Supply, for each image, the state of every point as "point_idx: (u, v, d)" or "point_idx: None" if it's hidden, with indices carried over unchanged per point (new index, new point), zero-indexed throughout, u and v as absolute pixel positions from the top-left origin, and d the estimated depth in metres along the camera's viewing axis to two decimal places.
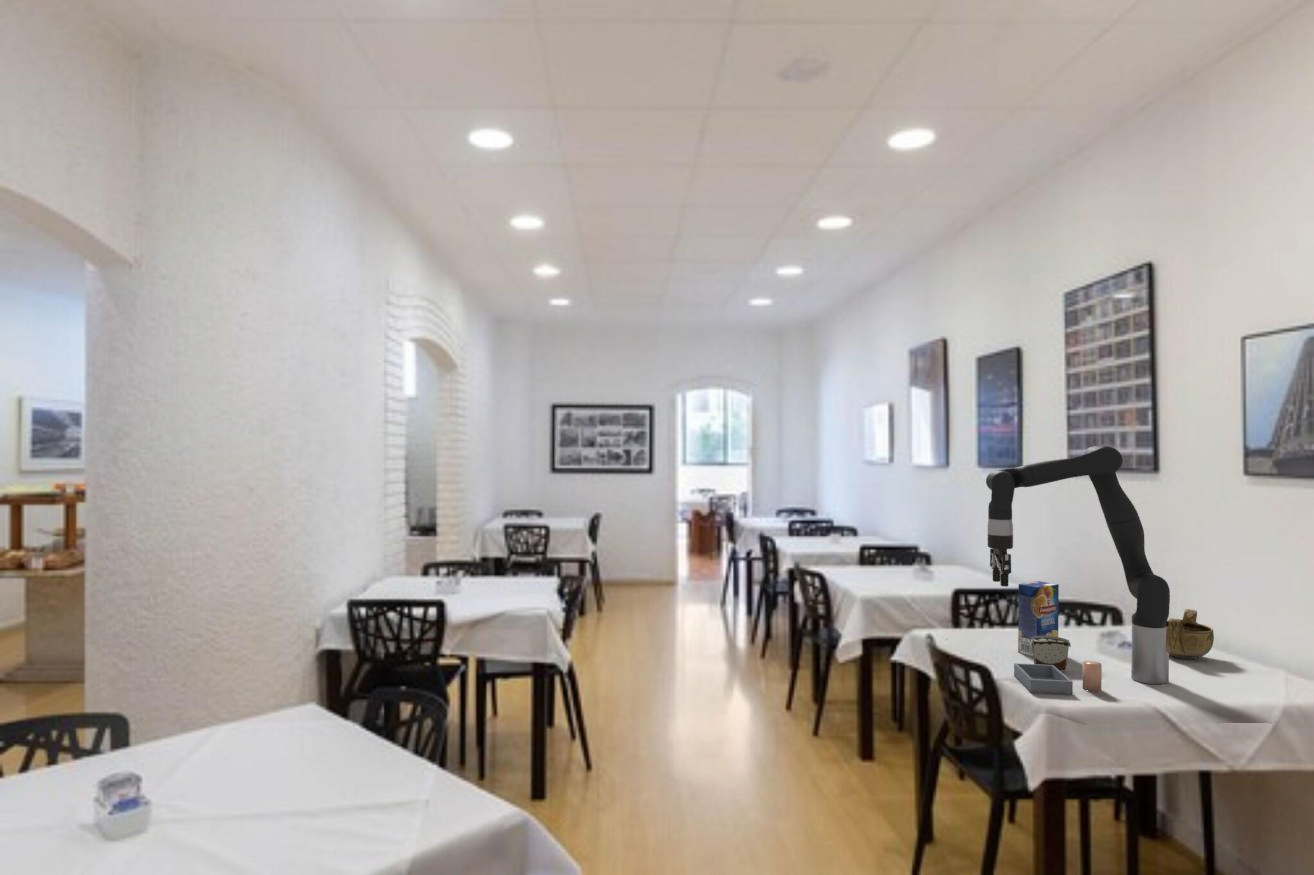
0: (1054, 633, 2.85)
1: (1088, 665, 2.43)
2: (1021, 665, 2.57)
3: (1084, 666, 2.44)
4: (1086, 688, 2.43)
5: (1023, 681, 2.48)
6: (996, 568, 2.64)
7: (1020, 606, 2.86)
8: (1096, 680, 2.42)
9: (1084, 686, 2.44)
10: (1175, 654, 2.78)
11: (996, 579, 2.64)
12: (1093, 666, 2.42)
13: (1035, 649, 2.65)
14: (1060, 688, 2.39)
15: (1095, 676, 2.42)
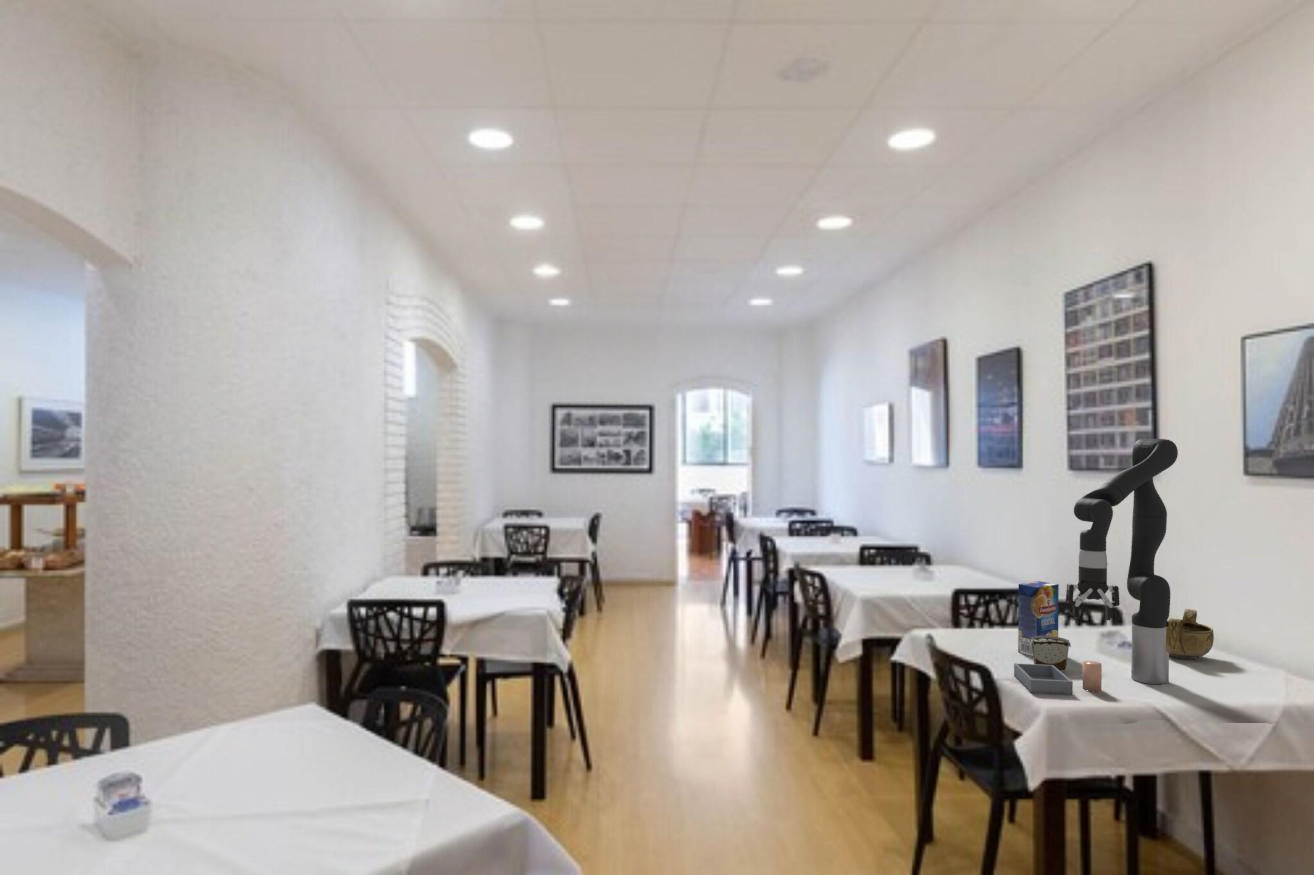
0: (1054, 633, 2.85)
1: (1088, 665, 2.43)
2: (1021, 665, 2.57)
3: (1084, 666, 2.44)
4: (1086, 688, 2.43)
5: (1023, 681, 2.48)
6: None
7: (1020, 606, 2.86)
8: (1096, 680, 2.42)
9: (1084, 686, 2.44)
10: (1175, 654, 2.78)
11: None
12: (1093, 666, 2.42)
13: (1035, 649, 2.65)
14: (1060, 688, 2.39)
15: (1095, 676, 2.42)
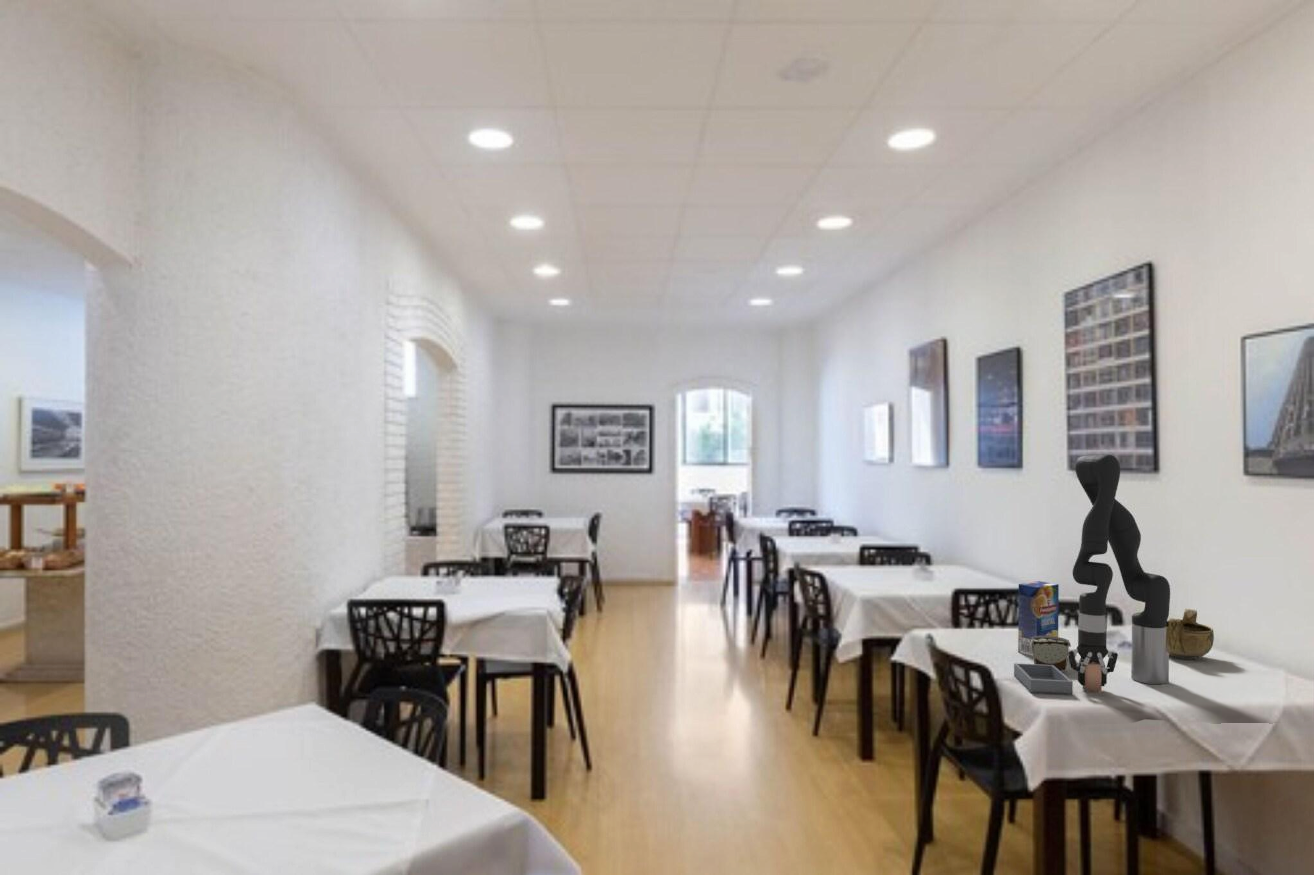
0: (1054, 633, 2.85)
1: (1088, 665, 2.43)
2: (1021, 665, 2.57)
3: None
4: (1086, 688, 2.43)
5: (1023, 681, 2.48)
6: None
7: (1020, 606, 2.86)
8: (1096, 680, 2.42)
9: (1084, 686, 2.44)
10: (1175, 654, 2.78)
11: None
12: (1093, 666, 2.42)
13: (1035, 649, 2.65)
14: (1060, 688, 2.39)
15: (1095, 676, 2.42)
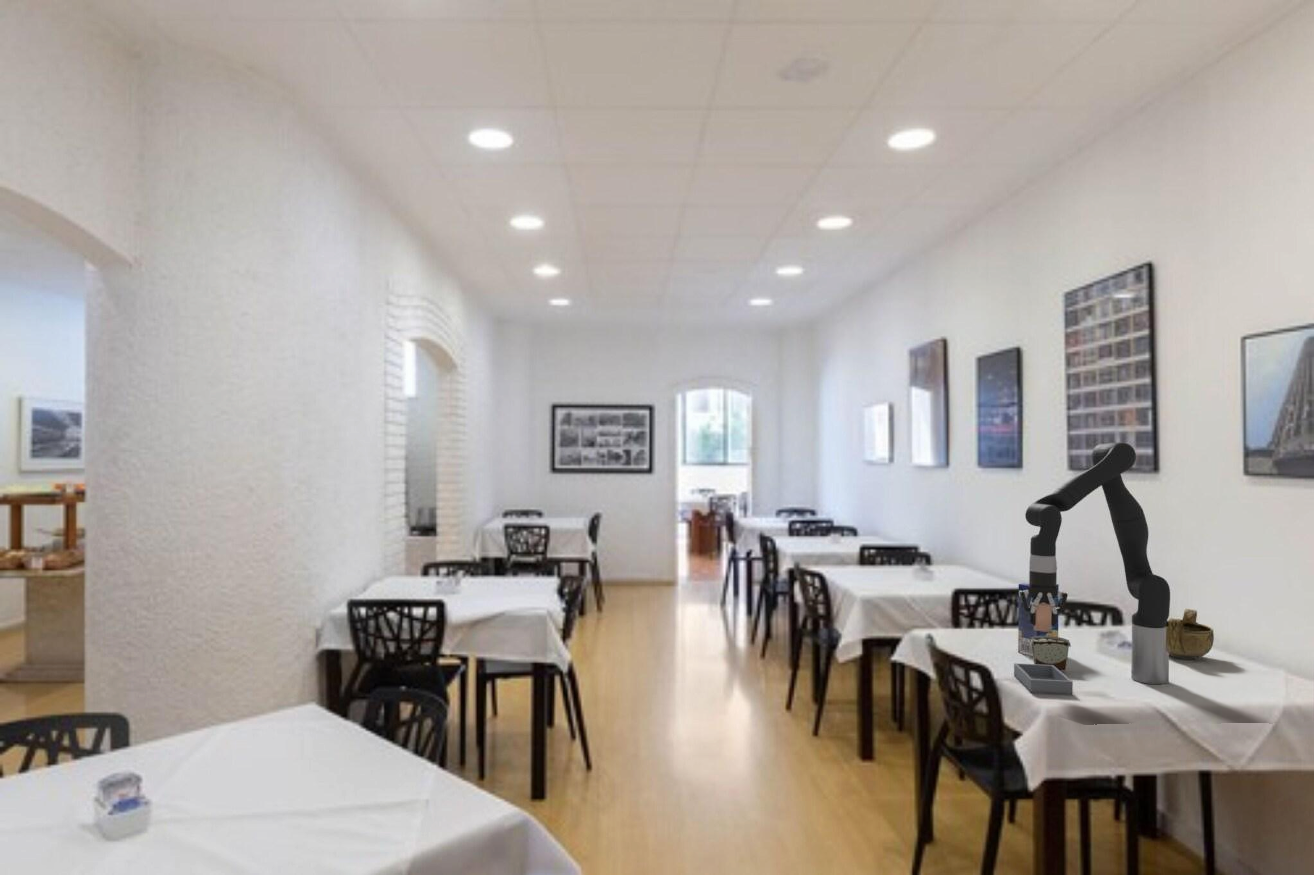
0: (1054, 633, 2.85)
1: (1038, 605, 2.47)
2: (1021, 665, 2.57)
3: None
4: (1037, 628, 2.47)
5: (1023, 681, 2.48)
6: None
7: (1020, 606, 2.86)
8: (1046, 619, 2.46)
9: (1035, 626, 2.48)
10: (1175, 654, 2.78)
11: None
12: (1043, 606, 2.46)
13: (1035, 649, 2.65)
14: (1060, 688, 2.39)
15: (1045, 616, 2.46)
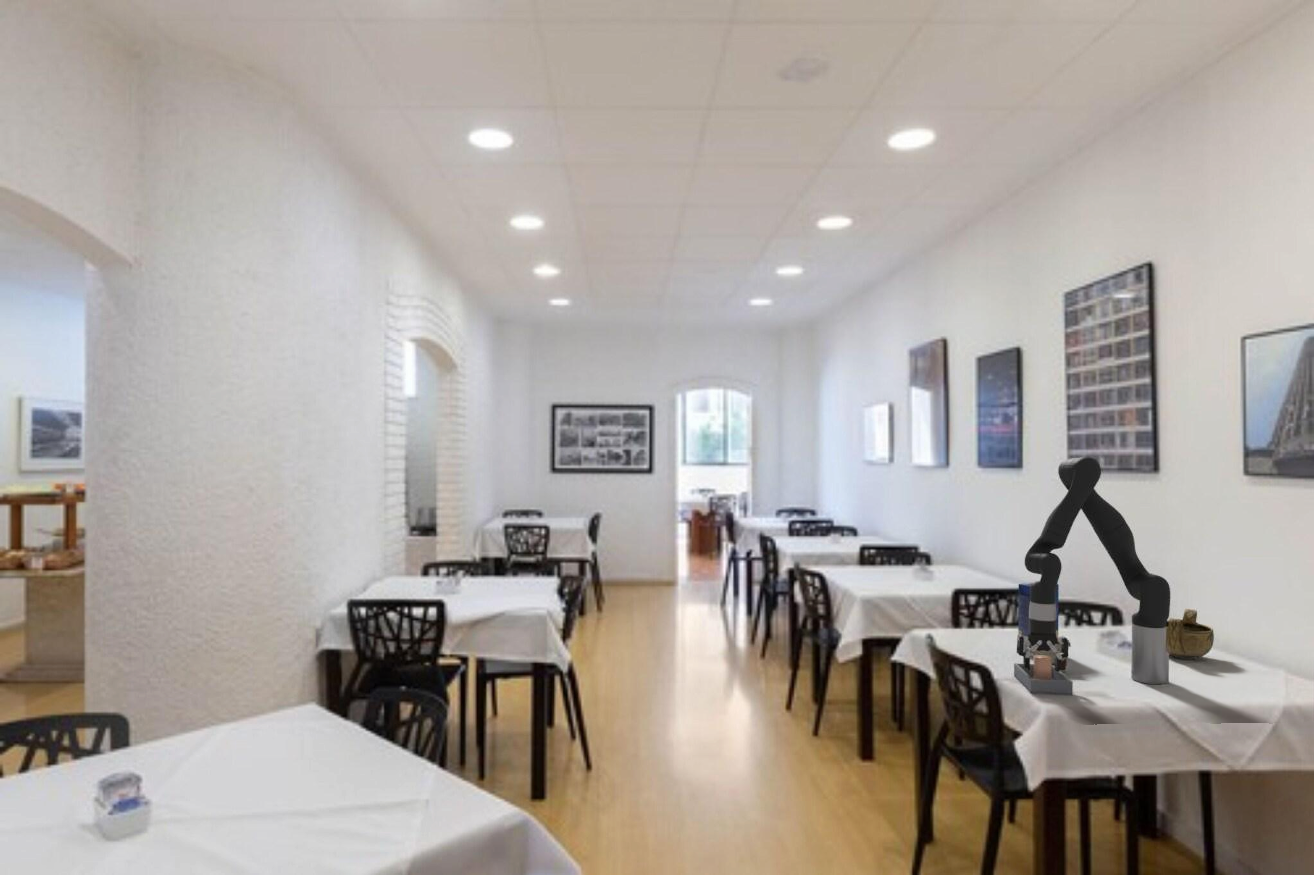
0: None
1: (1038, 659, 2.47)
2: (1021, 665, 2.57)
3: (1035, 660, 2.48)
4: None
5: (1023, 681, 2.48)
6: None
7: (1020, 606, 2.86)
8: (1046, 673, 2.46)
9: None
10: (1175, 654, 2.78)
11: None
12: (1043, 660, 2.46)
13: None
14: (1060, 688, 2.39)
15: (1045, 670, 2.46)
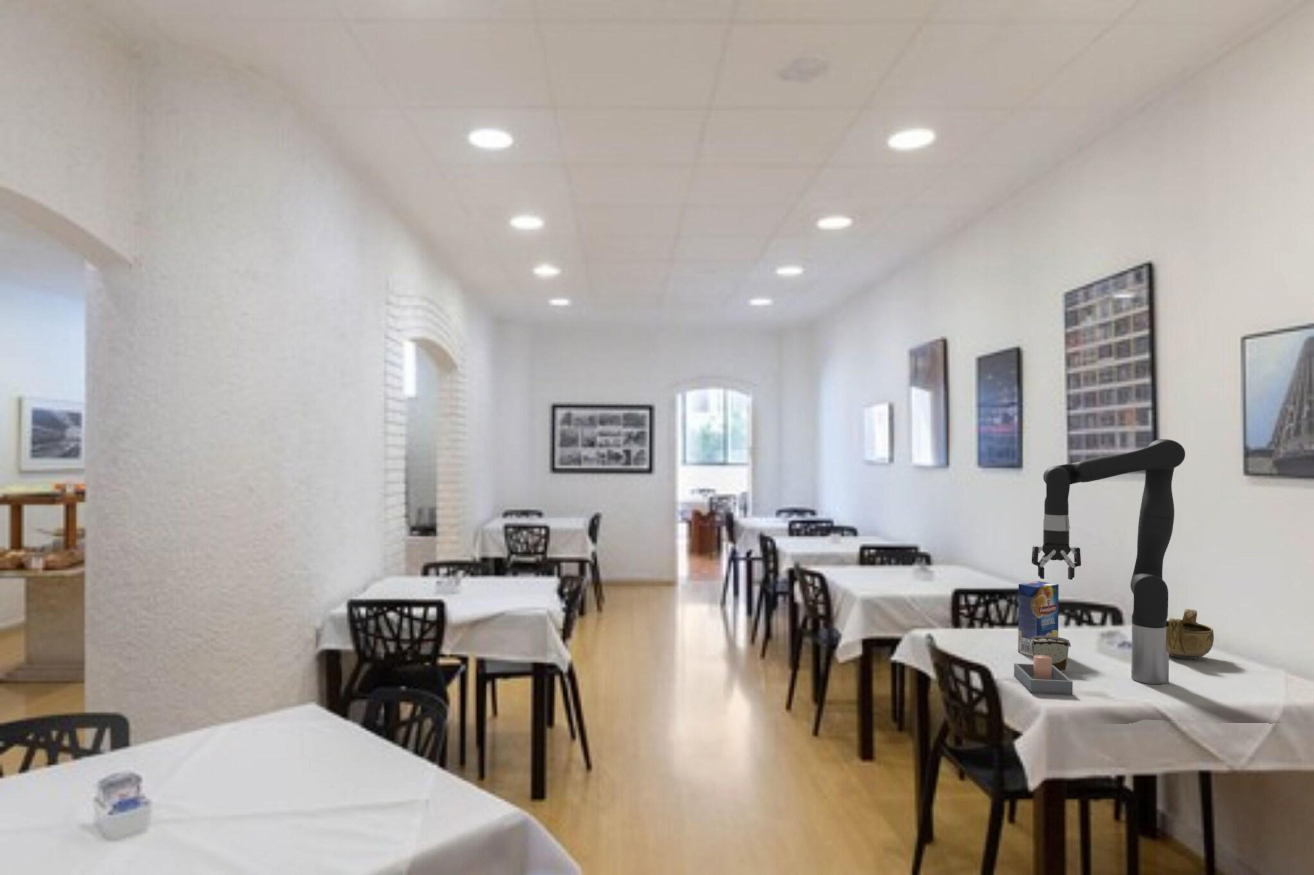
0: (1054, 633, 2.85)
1: (1038, 659, 2.47)
2: (1021, 665, 2.57)
3: (1035, 660, 2.48)
4: None
5: (1023, 681, 2.48)
6: None
7: (1020, 606, 2.86)
8: (1046, 674, 2.46)
9: None
10: (1175, 654, 2.78)
11: None
12: (1043, 660, 2.46)
13: (1035, 649, 2.65)
14: (1060, 688, 2.39)
15: (1045, 670, 2.46)
